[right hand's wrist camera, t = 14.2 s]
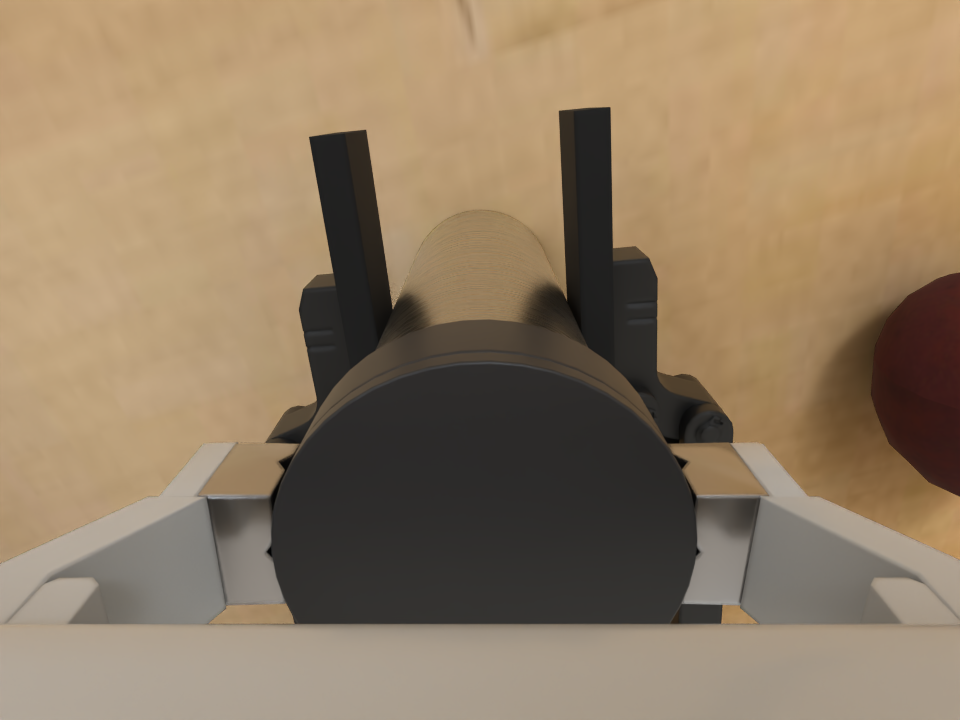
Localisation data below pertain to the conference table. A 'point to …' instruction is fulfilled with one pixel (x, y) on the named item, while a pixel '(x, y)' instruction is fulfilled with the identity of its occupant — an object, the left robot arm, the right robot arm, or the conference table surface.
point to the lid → (483, 489)
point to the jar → (481, 279)
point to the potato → (923, 381)
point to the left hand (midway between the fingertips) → (460, 123)
